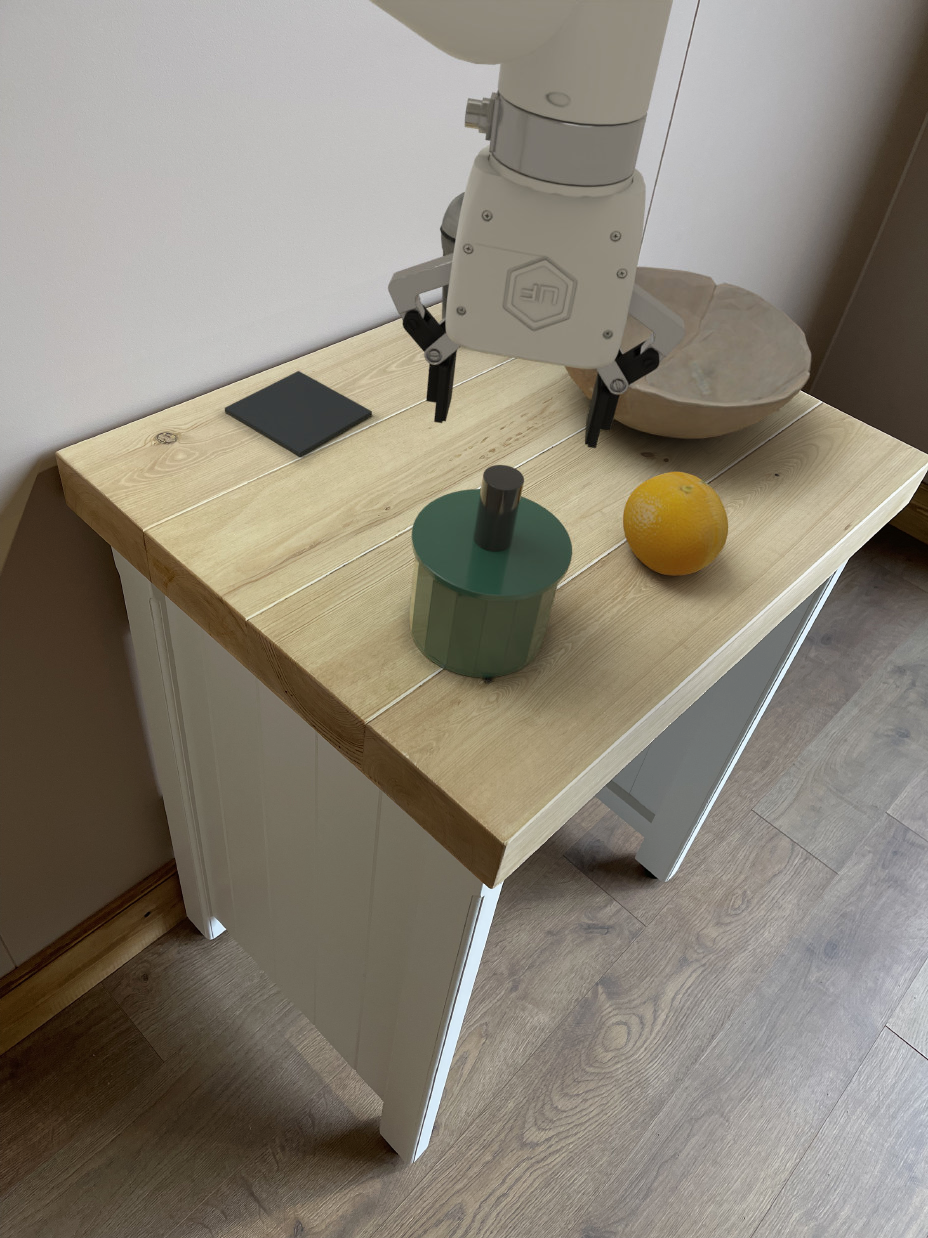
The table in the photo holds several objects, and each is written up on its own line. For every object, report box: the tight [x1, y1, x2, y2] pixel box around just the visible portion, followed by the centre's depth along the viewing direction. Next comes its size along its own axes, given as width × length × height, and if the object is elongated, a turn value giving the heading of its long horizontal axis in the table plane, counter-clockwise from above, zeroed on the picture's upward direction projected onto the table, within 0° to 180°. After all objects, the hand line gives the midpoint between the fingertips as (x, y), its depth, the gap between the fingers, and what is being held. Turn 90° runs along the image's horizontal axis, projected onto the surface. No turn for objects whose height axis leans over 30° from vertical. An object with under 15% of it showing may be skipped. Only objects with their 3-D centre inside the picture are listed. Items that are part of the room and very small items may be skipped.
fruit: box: [622, 471, 729, 576], centre depth 78 cm, size 9×8×8 cm
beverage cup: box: [439, 191, 465, 320], centre depth 97 cm, size 7×7×20 cm
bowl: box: [564, 266, 812, 439], centre depth 94 cm, size 26×26×10 cm
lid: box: [410, 464, 573, 602], centre depth 64 cm, size 12×12×7 cm
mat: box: [224, 370, 373, 458], centre depth 90 cm, size 10×10×1 cm
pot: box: [408, 556, 559, 679], centre depth 69 cm, size 11×11×8 cm
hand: (516, 423), depth 59 cm, fingers open, 9 cm apart
